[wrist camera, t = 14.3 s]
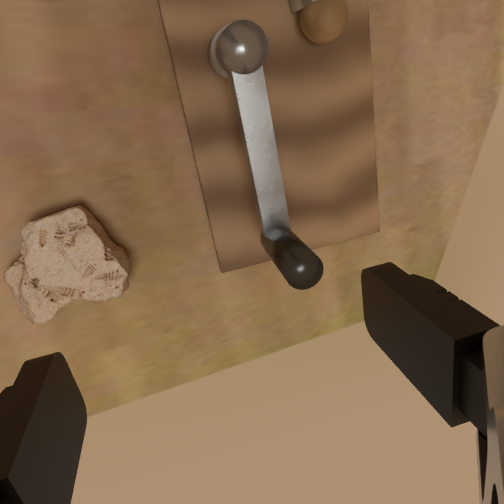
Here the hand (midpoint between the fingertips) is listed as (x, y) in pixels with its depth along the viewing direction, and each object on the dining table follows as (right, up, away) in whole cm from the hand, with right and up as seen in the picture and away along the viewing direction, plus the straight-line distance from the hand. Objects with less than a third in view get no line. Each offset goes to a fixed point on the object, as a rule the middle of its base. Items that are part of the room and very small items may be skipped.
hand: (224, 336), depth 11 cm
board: (+4, +14, +28) cm, 32 cm away
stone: (-16, +2, +29) cm, 33 cm away
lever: (+1, +11, +24) cm, 27 cm away
